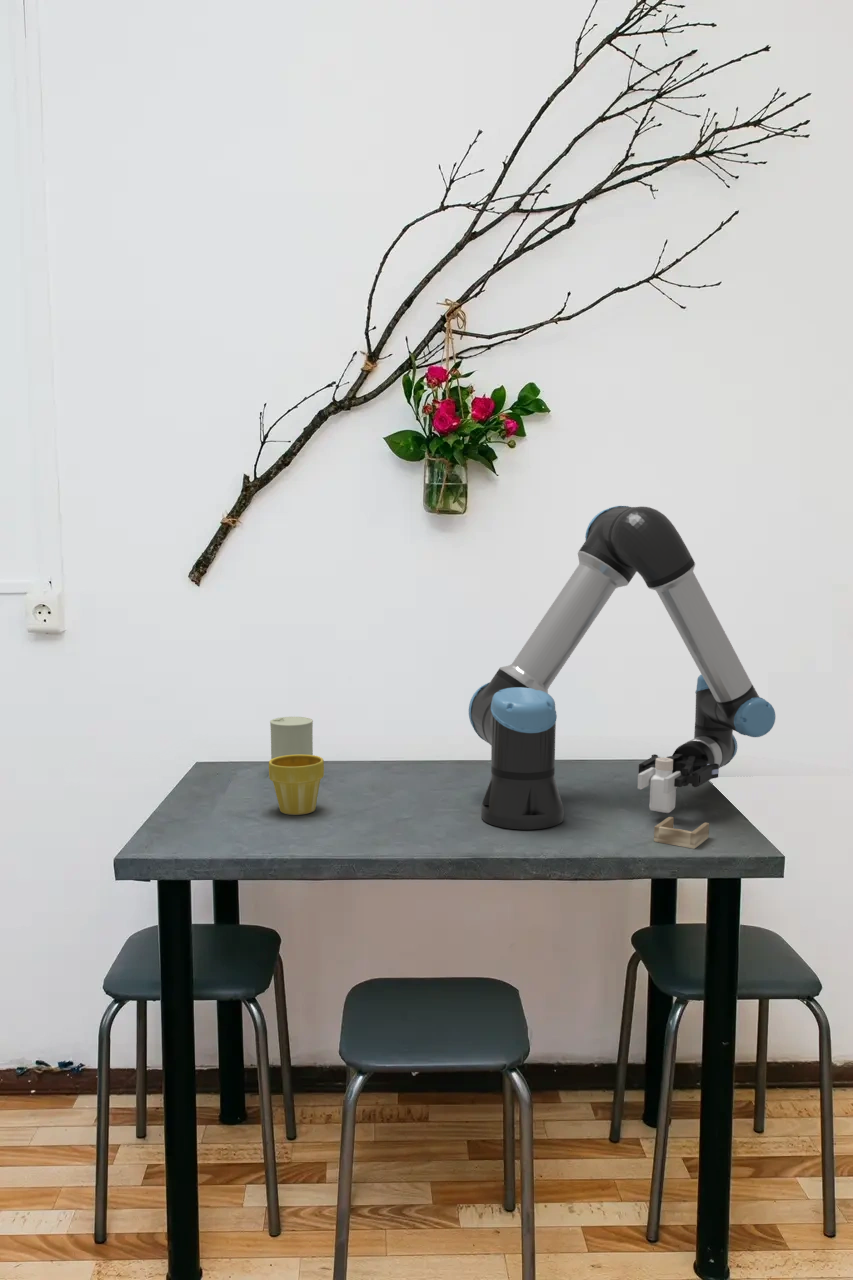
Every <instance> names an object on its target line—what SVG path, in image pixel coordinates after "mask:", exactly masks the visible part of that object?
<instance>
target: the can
mask: <svg viewBox="0 0 853 1280" xmlns="http://www.w3.org/2000/svg"><path fill="white" fill-rule="evenodd" d="M313 722H314V720H313V719H312V718H309V717H306V716H305V717H304V716H282V717H277V718H273V719H271V720H270V721H269V723H270V725H269V726H270V755H271V758H270V760H271V759H273V758H276V757H279V756H285V755H297V754H303V755H314V754H313V749H314V748H313V746H314V745H313V742H314V741H313V739H314V738H313V737H314V736H313V724H314V723H313Z"/></svg>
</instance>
